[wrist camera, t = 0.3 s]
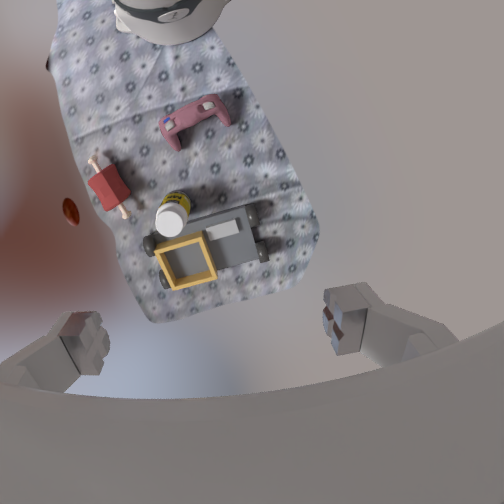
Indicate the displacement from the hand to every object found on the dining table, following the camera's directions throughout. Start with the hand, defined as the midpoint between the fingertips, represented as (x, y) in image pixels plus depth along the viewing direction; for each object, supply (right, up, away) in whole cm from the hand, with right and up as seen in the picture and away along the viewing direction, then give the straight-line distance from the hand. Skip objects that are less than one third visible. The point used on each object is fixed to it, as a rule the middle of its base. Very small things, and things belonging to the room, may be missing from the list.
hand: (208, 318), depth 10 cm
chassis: (-6, +4, +40) cm, 41 cm away
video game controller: (-7, +22, +30) cm, 38 cm away
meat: (-21, +14, +33) cm, 42 cm away
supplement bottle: (-11, +10, +36) cm, 39 cm away
